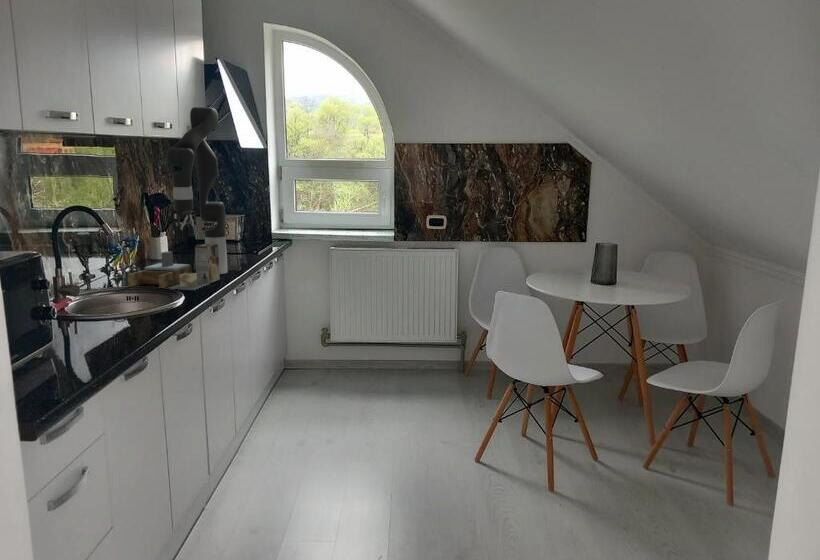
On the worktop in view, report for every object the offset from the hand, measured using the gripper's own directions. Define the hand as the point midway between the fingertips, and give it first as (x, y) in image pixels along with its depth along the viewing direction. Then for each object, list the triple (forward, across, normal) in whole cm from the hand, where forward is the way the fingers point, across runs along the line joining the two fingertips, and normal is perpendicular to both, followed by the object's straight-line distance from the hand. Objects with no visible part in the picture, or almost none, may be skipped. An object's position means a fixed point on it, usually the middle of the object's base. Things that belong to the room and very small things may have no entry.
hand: (185, 237), depth 260 cm
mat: (+21, 0, 0) cm, 21 cm away
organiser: (+21, +6, +16) cm, 27 cm away
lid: (+15, +11, +16) cm, 25 cm away
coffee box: (+21, +13, -2) cm, 25 cm away
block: (+20, 0, 0) cm, 20 cm away
